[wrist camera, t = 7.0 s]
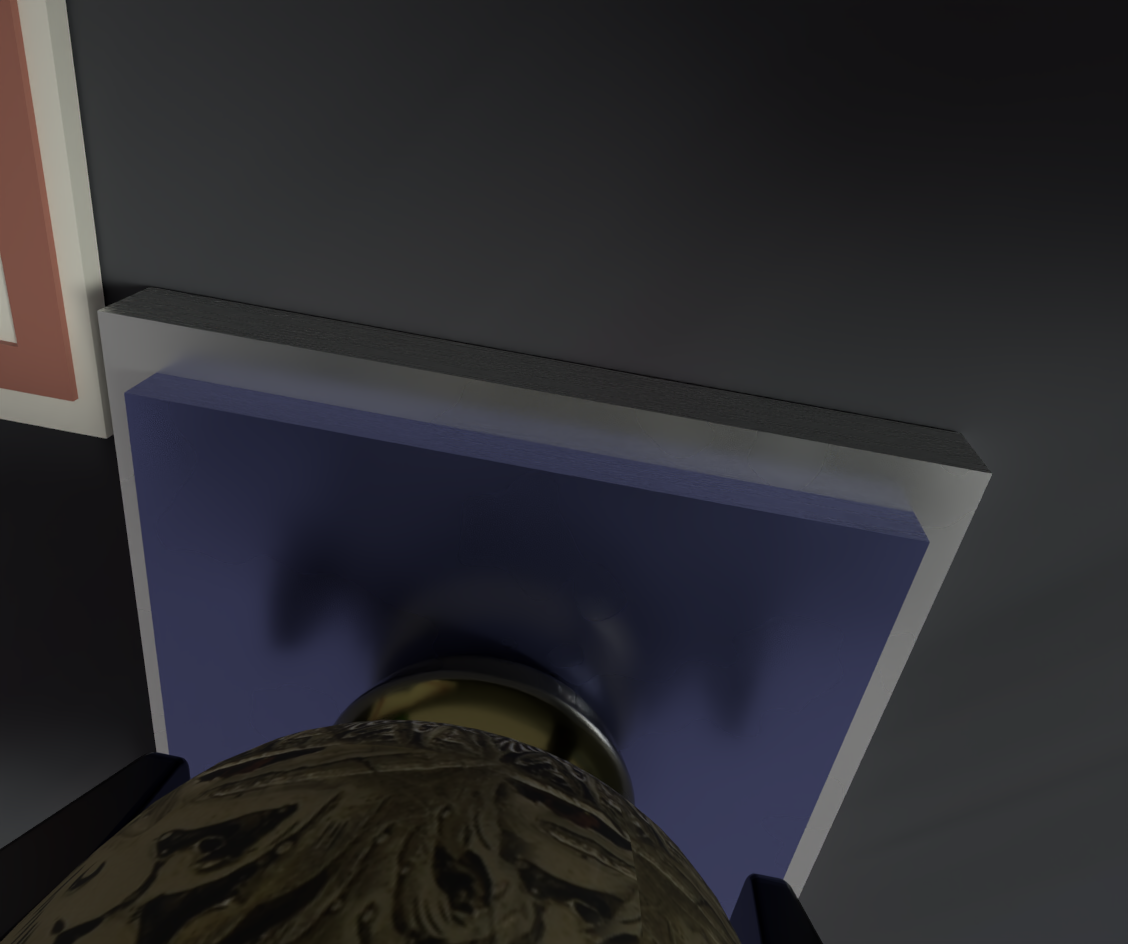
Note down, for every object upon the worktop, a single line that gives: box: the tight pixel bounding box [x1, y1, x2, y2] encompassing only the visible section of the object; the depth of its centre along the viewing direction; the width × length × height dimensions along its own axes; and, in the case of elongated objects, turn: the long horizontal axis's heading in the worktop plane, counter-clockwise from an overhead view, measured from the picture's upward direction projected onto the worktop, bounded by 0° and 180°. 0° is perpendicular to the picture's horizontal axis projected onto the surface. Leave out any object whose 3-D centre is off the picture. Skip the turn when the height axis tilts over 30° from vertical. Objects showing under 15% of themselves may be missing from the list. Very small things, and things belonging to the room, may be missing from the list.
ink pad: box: [97, 287, 992, 921], centre depth 11 cm, size 10×9×2 cm
